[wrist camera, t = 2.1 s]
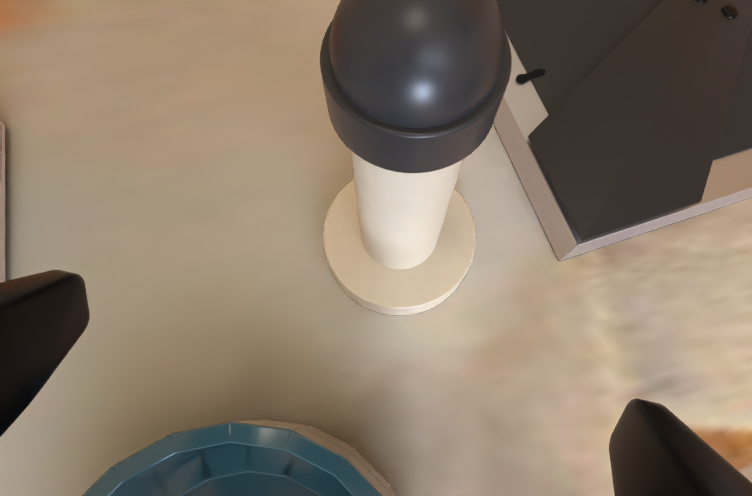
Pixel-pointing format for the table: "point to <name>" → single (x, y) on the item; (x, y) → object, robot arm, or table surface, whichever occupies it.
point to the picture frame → (627, 113)
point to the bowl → (244, 464)
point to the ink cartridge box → (2, 202)
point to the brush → (408, 142)
